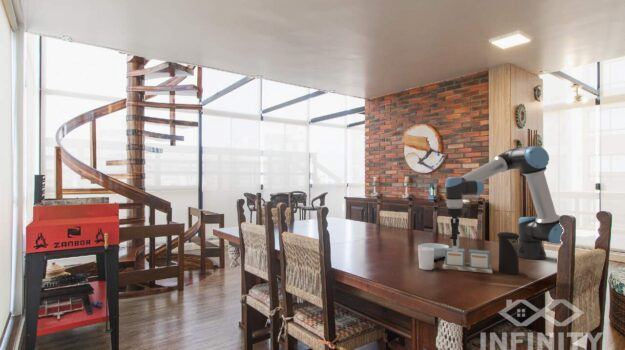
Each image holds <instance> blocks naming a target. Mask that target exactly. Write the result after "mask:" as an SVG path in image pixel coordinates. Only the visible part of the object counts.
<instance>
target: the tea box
mask: <svg viewBox="0 0 625 350" xmlns="http://www.w3.org/2000/svg"><path fill="white" fill-rule="evenodd" d="M465 254H466V253H465V248H458V253H454V252H452V247H449V248H445V256H444V261H445V265H449V266H459V267H465V263H466V261H465V260H466V259H465Z"/></svg>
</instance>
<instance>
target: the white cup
mask: <svg viewBox="0 0 625 350" xmlns="http://www.w3.org/2000/svg"><path fill="white" fill-rule="evenodd" d="M417 255H418V256H417V257H418V267H419V269H421V270H426V271H432V270H434V260H435V259H434V249H433V248H429V247H420V248H418V247H417Z"/></svg>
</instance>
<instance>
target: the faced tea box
mask: <svg viewBox="0 0 625 350" xmlns="http://www.w3.org/2000/svg"><path fill="white" fill-rule="evenodd" d="M490 259H491V257H490V250H483V249H482V250H481V249H471V248H469V249H468V263H469V267H470V268H481V269H490V265H491V263H490Z"/></svg>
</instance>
